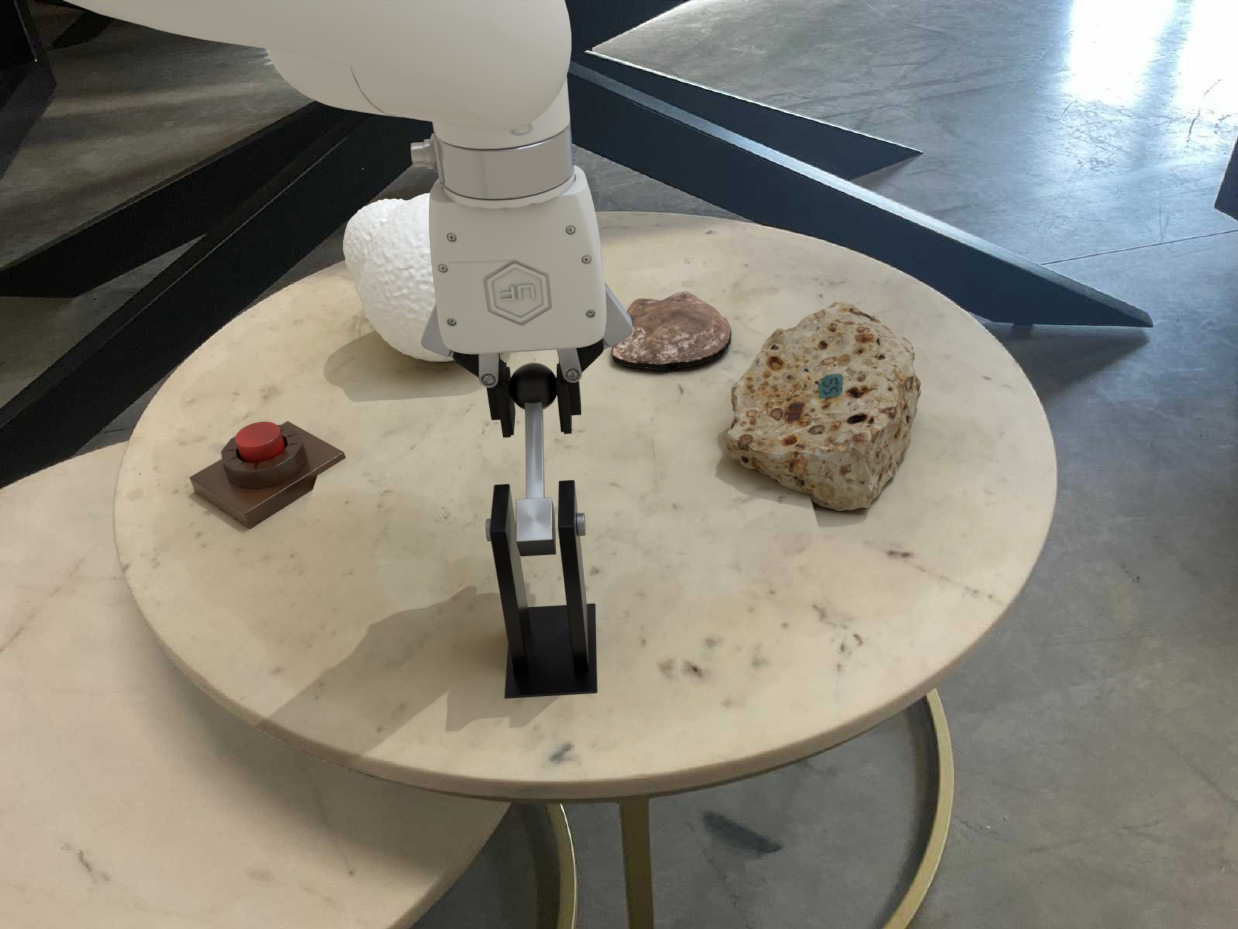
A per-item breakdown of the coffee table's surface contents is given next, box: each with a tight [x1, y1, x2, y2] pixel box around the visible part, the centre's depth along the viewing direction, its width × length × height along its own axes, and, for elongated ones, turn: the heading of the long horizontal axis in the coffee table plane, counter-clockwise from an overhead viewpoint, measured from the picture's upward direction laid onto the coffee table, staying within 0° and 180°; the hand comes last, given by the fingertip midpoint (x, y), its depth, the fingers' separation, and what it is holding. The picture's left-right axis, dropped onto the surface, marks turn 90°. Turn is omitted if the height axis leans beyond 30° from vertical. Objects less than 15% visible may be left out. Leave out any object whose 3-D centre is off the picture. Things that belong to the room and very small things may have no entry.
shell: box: [611, 290, 732, 373], centre depth 101 cm, size 12×13×4 cm
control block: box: [189, 420, 346, 530], centre depth 86 cm, size 10×8×4 cm
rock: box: [723, 300, 922, 512], centre depth 87 cm, size 21×14×10 cm
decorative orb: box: [310, 168, 454, 363], centre depth 99 cm, size 20×18×16 cm
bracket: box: [484, 479, 598, 700], centre depth 66 cm, size 8×6×14 cm
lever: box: [509, 362, 557, 557], centre depth 65 cm, size 13×3×3 cm, turn 2°
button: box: [234, 421, 285, 463], centre depth 85 cm, size 4×4×2 cm
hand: (537, 421), depth 69 cm, fingers closed on lever, 3 cm apart
